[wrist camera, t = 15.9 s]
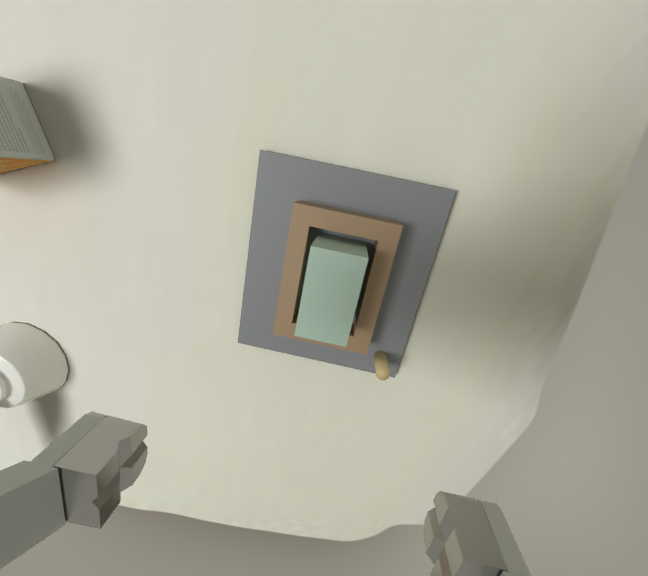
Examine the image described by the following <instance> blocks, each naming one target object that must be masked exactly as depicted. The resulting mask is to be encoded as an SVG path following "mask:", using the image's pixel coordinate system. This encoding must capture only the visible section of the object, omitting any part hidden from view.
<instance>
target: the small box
mask: <svg viewBox="0 0 648 576" xmlns="http://www.w3.org/2000/svg"><path fill="white" fill-rule="evenodd" d="M54 160H55V158H54V155H53V153H52V151H51V148H50V146H49V144H48V142H47V139H46V137H45V135H44V132H43V130H42V128H41V125H40V123H39V120H38V118H37V116H36V113H35V111H34V108H33V106H32V104H31V101H30V99H29V97H28V95H27V92H26V90H25V88H24V86H23V84H22V83H21V82H18V81H15V80H11V79H7V78H4V77H1V76H0V173H4V172H9V171H13V170H16V169H21V168H25V167H30V166H34V165H39V164H43V163H48V162H53V161H54Z"/></svg>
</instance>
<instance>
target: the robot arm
mask: <svg viewBox="0 0 648 576" xmlns="http://www.w3.org/2000/svg"><path fill="white" fill-rule="evenodd" d="M146 436H147V426H146V425H143V424H139V423H135V422H131V421H128V420H124V419H120V418H116V417H112V416H108V415H104V414H99V413H95V412H90V413H88V414H85V415H84V416H83V417H81V418H80V419H79V420H78V421H77V422H76V423H74V424H73V425H72V426H71V427H70V428H69V429H68V430H66V431H65V432H64V433H63V434H62V435H61V436H60V437H58V438H57V439H56V440H55V441H54V442H53V443H51V444H50V445H49V446H48V447H47V448H46V449H45V450H43V451H42V452H41V453H40V454H39V455H38V456H37V457H35V458H34V459H33V460H32V461H31V462H30V461H22V462H20V463H18V464H15V465H13V466H11V467H8V468H6V469H3V470H1V471H0V569H1V568H3V567H4V566H5V565H7V564H8V563H10V562H11V561H13V560H14V559H16V558H17V557H19V556H20V555H22V554H23V553H25V552H26V551H27V550H29V549H30V548H32V547H33V546H35V545H36V544H38V543H39V542H41V541H42V540H44V539H45V538H46V537H48V536H49V535H51V534H52V533H53V532H55V531H57V530H58V529H59V528H61V527H62V526H64V525H65V524H66V522H69V523H75V524H80V525H85V526H90V527H95V528H100V529H101V528H102V526H103V525H104V523H105V522H106V521H107V519H108V518H109V517H110V515H111V514H112V512H113V511H114V510H115V508H116V507H117V506H118V504H119V503H120V498H121V491H123V490H125V489H126V488H128V487H130V486H132V485H133V483H134V482H135V481H136V479H137V478H138V476H139V475H140V473H141V471H142V469H143V467H144V464H145V462H146V458H147V446H146V445H145V443H144V442H143V440H144V439H145V437H146ZM433 501H434V505H435V508H433V509H431V510H430V511H428V513H427V515H426V518H425V522H424V543H425V549H426V553H427V555H428V556H429V558H430V559H431V560H432V562H433V563H434V566H433V568H432V571H431V573H430V575H431V576H531V574H530V572H529V570H528V567H527V565H526V563H525V561H524V559H523V556H522V555H521V552H520V550H519V548H518V545H517V543H516V541H515V539H514V537H513V534H512V532H511V530H510V528H509V526H508V523H507V521H506V519H505V517H504V515H503V513H502V510H501V508H500V507H499V506H498V505H497V504H495V503H491V502H487V501H482V500H476V499H475V498H470V497H466V496H461V495H456V494H451V493H447V492H442V491H439V492H438V493H436V495H435V498H434V500H433Z"/></svg>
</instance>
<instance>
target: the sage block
mask: <svg viewBox="0 0 648 576" xmlns="http://www.w3.org/2000/svg"><path fill="white" fill-rule="evenodd" d="M368 259H369V258H368V252H367V247H366V242H365V241H360V240H355V239H350V238H346V237H341V236H336V235H331V234H327V233H322V232H319V234H318V236H317V237H316V239H315V240H314V242H313V243H312V245H311V247H310V252H309V258H308V263H307V269H306V274H305V280H304V285H303V291H302V296H301V302H300V307H299V313H298V318H297V323H296V329H295V334H294V336H298V337H302V338H307V339H311V340H316V341H320V342H325V343H330V344H334V345H339V346H343V347H346V346H347V342H348V338H349V334H350V330H351V326H352V322H353V318H354V314H355V310H356V306H357V302H358V298H359V294H360V290H361V286H362V283H363V279H364V275H365V271H366V267H367V263H368Z"/></svg>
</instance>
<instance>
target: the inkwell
mask: <svg viewBox="0 0 648 576" xmlns="http://www.w3.org/2000/svg"><path fill="white" fill-rule="evenodd" d="M67 373H68V365H67V361H66V357H65V355H64V353H63V352H62V350H61V349H60V347H59V346H58V344H57V343H56V342H55V341H54V340H53V339H52V338H51V337H49V336H48V335H47V334H46V333H45V332H43V331H42V330H39V329H37V328H35V327H33V326H31V325H29V324H23V323H13V322H9V323H6V324H3V325H0V407H3V408H11V407H15V406H19V405H21V404H24V403H27V402H29V401H32V400H34V399H37V398H39V397H42V396H44V395H47V394H49V393H52V392H54V391H57V390H58V389H59V388H60V387H61V386H62V385H63V384H64V383H65V381H66V377H67Z"/></svg>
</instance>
